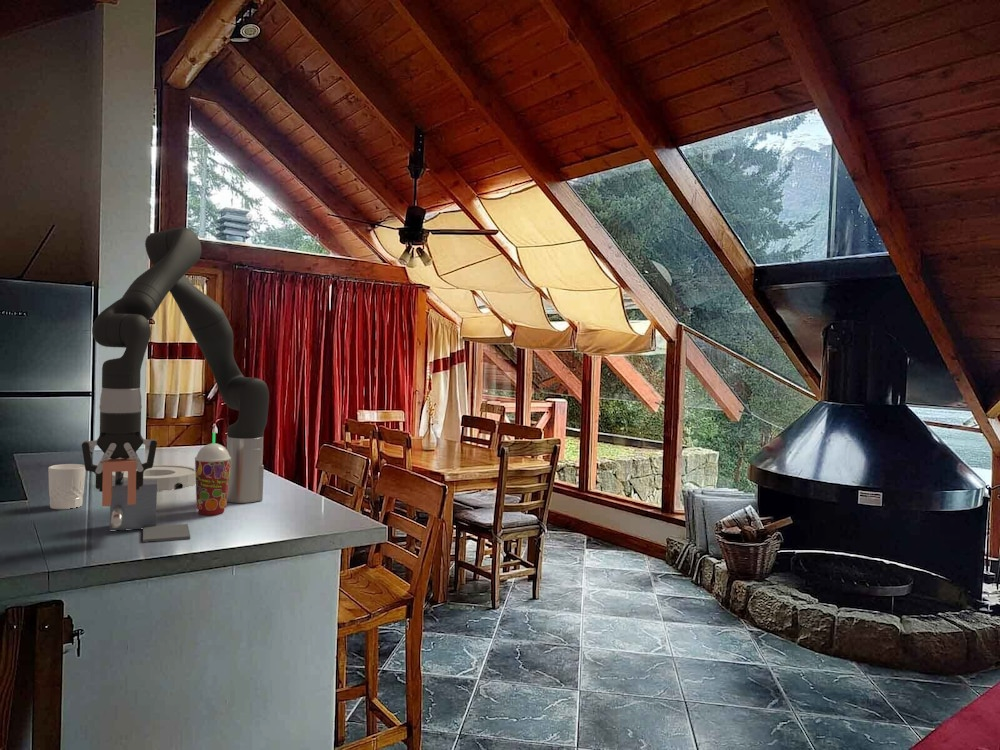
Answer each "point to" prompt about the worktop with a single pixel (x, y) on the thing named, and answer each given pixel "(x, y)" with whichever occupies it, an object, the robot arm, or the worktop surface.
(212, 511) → the smoothie
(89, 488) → the worktop surface
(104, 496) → the notched orange block
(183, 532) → the mat
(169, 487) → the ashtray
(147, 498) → the vise block
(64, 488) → the white cup
